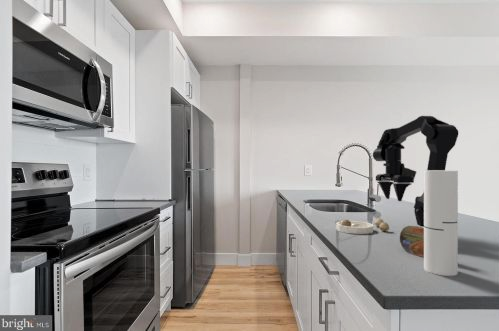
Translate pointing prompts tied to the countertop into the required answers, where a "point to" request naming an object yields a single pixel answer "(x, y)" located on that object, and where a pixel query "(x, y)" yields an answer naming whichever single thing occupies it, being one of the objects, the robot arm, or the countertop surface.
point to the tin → (413, 240)
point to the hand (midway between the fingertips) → (393, 199)
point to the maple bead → (378, 221)
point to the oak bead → (384, 226)
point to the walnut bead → (346, 223)
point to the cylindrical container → (441, 222)
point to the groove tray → (355, 227)
